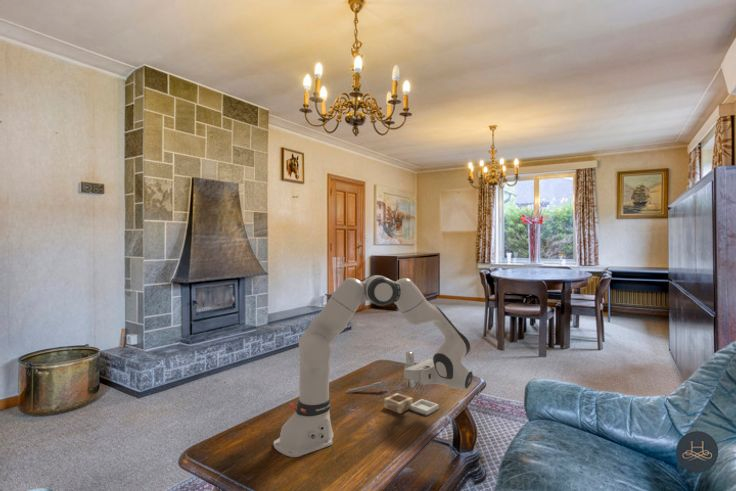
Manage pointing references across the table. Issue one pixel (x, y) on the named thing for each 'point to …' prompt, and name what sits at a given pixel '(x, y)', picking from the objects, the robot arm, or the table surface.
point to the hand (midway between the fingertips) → (408, 365)
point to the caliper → (374, 386)
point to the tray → (424, 407)
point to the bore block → (398, 403)
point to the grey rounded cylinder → (410, 362)
